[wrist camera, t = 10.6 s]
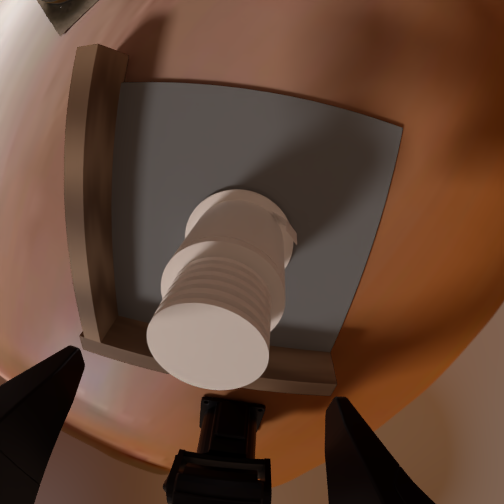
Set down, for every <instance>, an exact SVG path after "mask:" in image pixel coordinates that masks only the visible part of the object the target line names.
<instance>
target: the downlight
mask: <svg viewBox="0 0 504 504" xmlns="http://www.w3.org/2000/svg"><path fill="white" fill-rule="evenodd" d="M293 241H294V243H295V244H296V245H297V233H296V231H295V230H294V229H293V227H292V226H291V225H290V223H289V221H288V219H287V217H286V216H285V214H284V213H283V211H282V210H281V209H280V208H279V207H278V206H277V205H276V204H275V203H274V202H272V201H271V200H270V199H268V198H267V197H265V196H263V195H261V194H258V193H256V192H252V191H248V190H241V189H232V190H225V191H221V192H218V193H215V194H213V195H211V196H209V197H207V198H206V199H205V200H203V201H202V202H201V203H200V204H199V205H198V206H197V207H196V208H195V209H194V211H193V212H192V214H191V216H190V217H189V220H188V222H187V225H186V230H185V240H184V241H183V242H182V244H181V245H180V247H179V248H178V250H177V251H176V252H175V254H174V255H173V257H172V258H171V260H170V261H169V262H168V264H167V265H166V267H165V269H164V272H163V274H162V279H161V295H162V299H163V300H162V301H161V303H160V305H159V307H158V309H157V310H156V312H155V314H154V316H153V318H152V319H151V321H150V323H149V325H148V328H147V343H148V347H149V349H150V352H151V354H152V355H153V357H154V358H155V360H156V361H157V362H158V363H159V365H160V366H161V367H162V368H164V369H165V370H166V371H167V372H168V373H170V374H171V375H173V376H174V377H176V378H177V379H179V380H181V381H183V382H185V383H188V384H190V385H193V386H196V387H200V388H205V389H211V390H230V389H236V388H240V387H243V386H246V385H248V384H250V383H252V382H254V381H255V380H257V379H258V378H259V377H260V376H261V375H262V374H263V372H264V371H265V369H266V367H267V364H268V360H269V346H270V331H272V330H273V329H274V328H275V326H276V325H277V324H278V322H279V321H280V319H281V317H282V315H283V312H284V308H285V268H286V266H287V265H288V263H289V261H290V258H291V255H292V251H293Z"/></svg>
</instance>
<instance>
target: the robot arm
mask: <svg viewBox="0 0 504 504" xmlns="http://www.w3.org/2000/svg"><path fill="white" fill-rule="evenodd" d="M84 367H85V363H84V360H83V357H82V354H81V350H80V349H79V348H77V347H74V346H67V347H66V348H64V349H62V350H61V351H59V352H57V353H55V354H54V355H52V356H50V357H48V358H47V359H45V360H43V361H42V362H40V363H38V364H36V365H35V366H33V367H31V368H30V369H28V370H26V371H24V372H23V373H21V374H19V375H18V376H16V377H14V378H12V379H11V380H9V381H7V382H6V383H4V384H2V385H1V386H0V504H34V502H35V499H36V496H37V493H38V490H39V487H40V483H41V480H42V477H43V475H44V471H45V469H46V466H47V463H48V461H49V458H50V455H51V453H52V450H53V448H54V445H55V443H56V440H57V438H58V435H59V433H60V431H61V428H62V426H63V424H64V421H65V419H66V417H67V414H68V412H69V410H70V408H71V405H72V403H73V400H74V398H75V395H76V392H77V389H78V386H79V383H80V380H81V377H82V374H83V371H84ZM264 412H265V406H264V405H260V404H251V403H244V402H237V401H230V400H224V399H218V398H212V397H202V400H201V411H200V428H201V433H200V438H199V443H198V448H197V453H195V452H189V451H185V450H182V449H180V450H179V452H178V455H175V460H174V462H173V465H172V468H171V471H170V473H169V475H168V477H167V479H166V481H165V482H164V484H163V489H164V491H165V492H166V496H167V503H168V504H271V464H270V459H266V458H265V459H255V446H256V432H257V430H258V427H259V425H260V422H261V420H262V417H263V414H264ZM325 461H326V472H327V485H328V498H329V504H435V503H434V502H433V501H432V500H431V499H430V498H429V497H428V496H427V495H426V494H425V493H424V492H423V491H422V490H421V489H420V488H419V487H418V486H417V485H416V484H415V483H414V482H413V481H412V480H411V479H410V477H409V476H408V475H407V474H406V472H405V471H404V470H403V469H402V467H399V464H398V462H397V461H396V460H395V459H394V457H393V456H392V455H391V454H390V453H389V451H388V450H387V449H386V447H385V446H384V445H383V443H382V442H381V441H380V440H379V438H378V437H377V436H376V434H375V433H374V432H373V431H372V429H371V428H370V427H369V426H368V424H367V423H366V422H365V420H364V419H363V418H362V417H361V415H360V414H359V413H358V411H357V410H356V409H355V407H354V406H353V405H352V404H351V402H350V401H349V400H348V399H347V398H346V397H335V398H334V399H333V400H332V402H331V403H330V405H329V407H328V408H327V410H326V416H325ZM258 479H260V480H258Z"/></svg>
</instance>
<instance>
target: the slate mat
mask: <svg viewBox="0 0 504 504" xmlns="http://www.w3.org/2000/svg"><path fill="white" fill-rule="evenodd" d="M402 130H403V128H401V127H399V126H396V125H393V124H390V123H387V122H384V121H381V120H378V119H375V118H372V117H369V116H366V115H363V114H359V113H356V112H353V111H349V110H346V109H342V108H338V107H335V106H331V105H327V104H323V103H319V102H314V101H310V100H306V99H301V98H296V97H291V96H286V95H281V94H275V93H270V92H263V91H257V90H250V89H243V88H235V87H227V86H217V85H206V84H192V83H170V82H127V83H121V87H120V94H119V101H118V108H117V117H116V126H115V137H114V149H113V166H112V199H111V216H112V250H113V266H114V279H115V290H116V300H117V309H118V316H122V317H126V318H130V319H134V320H138V321H142V322H146V323H150V321H151V319H152V318H153V316H154V314H155V312H156V310H157V309H158V307H159V305H160V303H161V301H162V300H163V299H162V295H161V279H162V274H163V272H164V269H165V267H166V265H167V264H168V262H169V261H170V260H171V258H172V257H173V255H174V254H175V252H176V251H177V250H178V248H179V247H180V245H181V244H182V242H183V241H184V240H185V230H186V225H187V222H188V220H189V217H190V216H191V214H192V212H193V211H194V209H195V208H196V207H197V206H198V205H199V204H200V203H201V202H202V201H203V200H205V199H206V198H207V197H209V196H211V195H213V194H215V193H218V192H221V191H225V190H232V189H241V190H248V191H252V192H256V193H258V194H261V195H263V196H265V197H267V198H268V199H270V200H271V201H272V202H274V203H275V204H276V205H277V206H278V207H279V208H280V209H281V210H282V211H283V213H284V214H285V216H286V217H287V219H288V221H289V223H290V225H291V226H292V227H293V229H294V230H295V231H296V233H297V245H296V244H295V243H294V241H293V251H292V255H291V258H290V261H289V263H288V265H287V266H286V268H285V308H284V312H283V315H282V317H281V319H280V321H279V322H278V324H277V325H276V326H275V328H274V329H273V330H272V331H270V346H278V347H286V348H294V349H303V350H313V351H323V352H330V351H331V349H332V347H333V345H334V343H335V340H336V338H337V336H338V333H339V331H340V329H341V326H342V324H343V322H344V319H345V317H346V314H347V312H348V310H349V307H350V305H351V302H352V299H353V297H354V294H355V292H356V289H357V286H358V284H359V281H360V278H361V276H362V273H363V270H364V267H365V264H366V262H367V259H368V256H369V253H370V250H371V247H372V244H373V241H374V238H375V235H376V231H377V228H378V225H379V222H380V218H381V215H382V212H383V208H384V205H385V201H386V198H387V194H388V190H389V186H390V183H391V179H392V175H393V171H394V167H395V162H396V158H397V154H398V149H399V145H400V140H401V135H402Z"/></svg>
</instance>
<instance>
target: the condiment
mask: <svg viewBox="0 0 504 504" xmlns="http://www.w3.org/2000/svg"><path fill="white" fill-rule="evenodd" d="M37 1H38V3H39V4H40V6H41V7H42V9H43V10H44V12H45V13H46V16H47V17H48V18H49V20H50V22H51V23H52V24H53V26H54V28H55V29H56V31H57V32H58V34H59V35H60V36H61V35H62V34H63V33H64V32H65V31H66V30H67V29H68V28H70V27H71V26H72V25H73V23H75V22H76V21H77V20H78V19H79V18H80V17H81V16H82V15H83V14H84V13H85V12H86V11H87V10H88V9H89V8H90V7H91V6H93V5H94V4H95V3H96V2H97V1H98V0H37ZM60 7H61V8H60Z"/></svg>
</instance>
